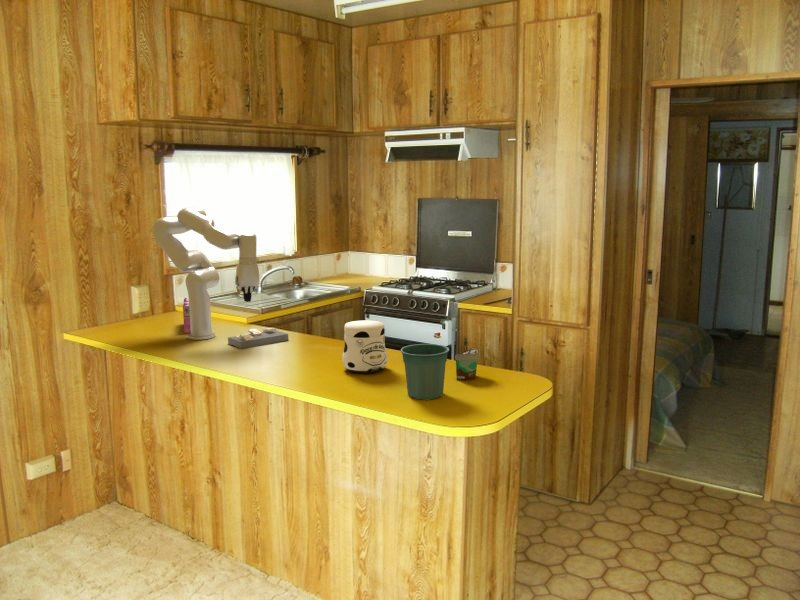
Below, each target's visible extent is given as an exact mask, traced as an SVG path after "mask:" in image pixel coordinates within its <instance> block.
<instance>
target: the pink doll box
mask: <svg viewBox="0 0 800 600" xmlns="http://www.w3.org/2000/svg"><path fill="white" fill-rule="evenodd" d="M182 313H183V314H182V315H183V333H184V334H191V330H190V328H191V326H190V310H189V298H187V297H186V298H185V297H184V298H183V304H182Z"/></svg>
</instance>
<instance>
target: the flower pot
mask: <svg viewBox="0 0 800 600" xmlns="http://www.w3.org/2000/svg"><path fill="white" fill-rule="evenodd" d="M400 352H401V354H402V362H403V363H404V370H405V371H404V372H405V378H406V380H405V381H406V390H407V396H408V397H410V398H412V399H413V398H414V399H416V400H423V401H424V400H425V401H428V400H435V399H437V398H441V397H442V396H443V395H444V387H445V385H444V384H445V375H446V373H445V372H446V364H447V361H448V353H449V352H450V348H449V347H447V346H445V345H442V344H433V343H421V344H420V343H419V344H418V343H417V344H409V345H406V346H402V348H401V349H400Z"/></svg>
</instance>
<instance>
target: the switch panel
mask: <svg viewBox="0 0 800 600" xmlns="http://www.w3.org/2000/svg"><path fill="white" fill-rule="evenodd" d="M260 332H261V333H262V335H258V336H254V335H252V334H251V333H248V334H249V335H251V336H252V337H254V339H253V340H248V341H246V340H244V339H242V338H241V337H240V335H234V336H228V337H227V341H228V342H227V343H228V345H230V346H232V345H233V347H236V348H238V349H240V350H242V349H246V348H247V349H248V348H254V347H259V346H264V344H265V345H268V344H269V343H271V344H276V343H281V342H280V341H282V342H286V340H287V341H289V333H286V332H283V331H280V330H277V329H276V330H275V331H270V332H266V331H265V332H263V331H260ZM275 342H276V343H275ZM269 345H270V344H269Z"/></svg>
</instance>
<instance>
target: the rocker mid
mask: <svg viewBox="0 0 800 600" xmlns="http://www.w3.org/2000/svg"><path fill="white" fill-rule="evenodd" d="M261 332H262V331H260V330H259V329H257V328H250V329H249V328H248V330H247V333H249V334H252V335H254V336H258V335H262V333H261Z"/></svg>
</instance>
